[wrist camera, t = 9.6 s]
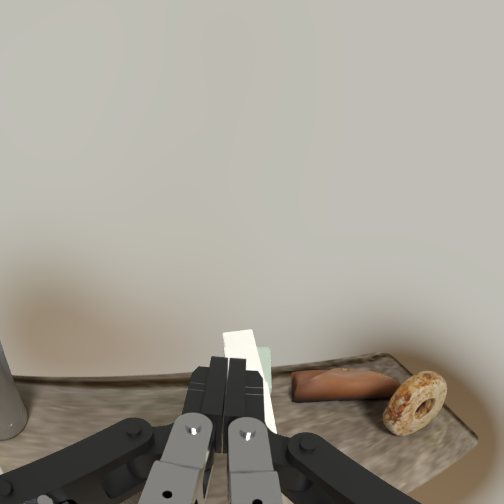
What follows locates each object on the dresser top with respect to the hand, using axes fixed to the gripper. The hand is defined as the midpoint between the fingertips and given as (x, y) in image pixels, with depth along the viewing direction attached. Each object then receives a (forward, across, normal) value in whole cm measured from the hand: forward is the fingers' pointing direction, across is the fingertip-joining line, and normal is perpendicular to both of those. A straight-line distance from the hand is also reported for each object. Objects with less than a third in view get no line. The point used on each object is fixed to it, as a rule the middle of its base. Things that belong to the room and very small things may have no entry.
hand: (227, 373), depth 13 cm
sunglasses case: (+29, -18, +26) cm, 43 cm away
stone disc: (+18, -26, +26) cm, 40 cm away
